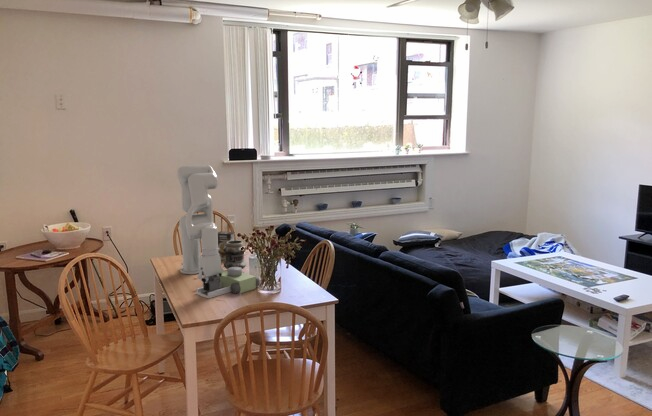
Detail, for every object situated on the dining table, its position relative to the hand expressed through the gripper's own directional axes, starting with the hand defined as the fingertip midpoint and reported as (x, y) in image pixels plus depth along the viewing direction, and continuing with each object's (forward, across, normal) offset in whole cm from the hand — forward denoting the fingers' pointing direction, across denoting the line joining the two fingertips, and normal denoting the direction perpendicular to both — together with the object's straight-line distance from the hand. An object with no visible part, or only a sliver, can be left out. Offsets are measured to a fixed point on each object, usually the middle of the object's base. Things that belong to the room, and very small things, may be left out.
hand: (211, 288), depth 245 cm
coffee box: (+3, -43, -45) cm, 62 cm away
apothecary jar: (+3, -27, -16) cm, 31 cm away
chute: (+1, 0, 0) cm, 1 cm away
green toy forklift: (+2, -8, 0) cm, 8 cm away
